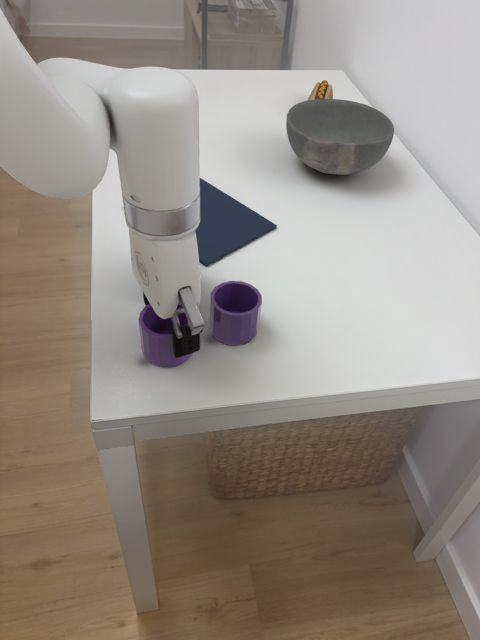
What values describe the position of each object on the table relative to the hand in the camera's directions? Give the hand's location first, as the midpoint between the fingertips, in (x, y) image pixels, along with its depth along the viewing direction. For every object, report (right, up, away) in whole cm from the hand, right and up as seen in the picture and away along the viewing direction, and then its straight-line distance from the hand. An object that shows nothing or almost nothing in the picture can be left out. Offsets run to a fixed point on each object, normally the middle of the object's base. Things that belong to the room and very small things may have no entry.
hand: (171, 326), depth 65 cm
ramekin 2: (+7, 0, +7) cm, 10 cm away
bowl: (+25, +33, +39) cm, 57 cm away
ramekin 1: (-1, -3, +3) cm, 4 cm away
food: (+24, +52, +56) cm, 80 cm away
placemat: (+1, +19, +23) cm, 30 cm away
